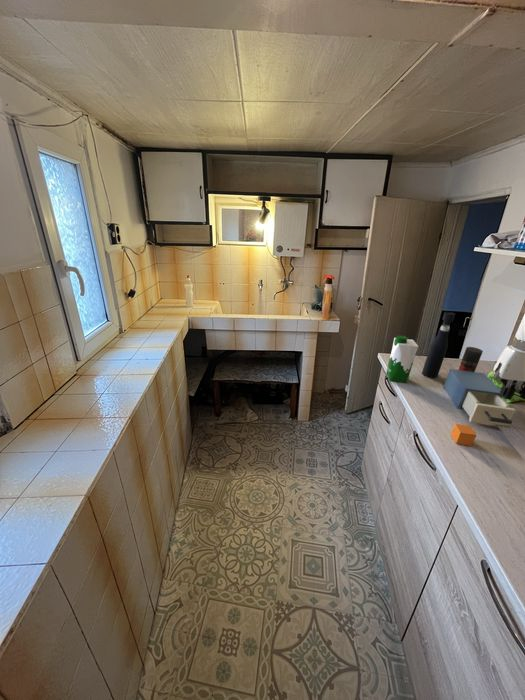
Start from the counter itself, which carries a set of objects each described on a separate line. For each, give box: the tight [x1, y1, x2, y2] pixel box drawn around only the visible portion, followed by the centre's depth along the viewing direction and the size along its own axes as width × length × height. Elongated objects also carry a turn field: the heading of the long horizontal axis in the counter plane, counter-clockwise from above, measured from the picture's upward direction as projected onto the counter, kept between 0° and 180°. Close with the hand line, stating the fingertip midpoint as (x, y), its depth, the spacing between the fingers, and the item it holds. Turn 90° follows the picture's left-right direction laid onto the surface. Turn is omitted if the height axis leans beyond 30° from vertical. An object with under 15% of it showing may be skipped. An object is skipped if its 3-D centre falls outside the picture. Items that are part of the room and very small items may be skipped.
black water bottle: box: [421, 311, 456, 379], centre depth 124 cm, size 6×6×30 cm
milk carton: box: [385, 334, 420, 384], centre depth 122 cm, size 9×9×20 cm
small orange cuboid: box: [450, 423, 478, 447], centre depth 90 cm, size 4×4×4 cm
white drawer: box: [461, 390, 517, 427], centre depth 100 cm, size 19×11×7 cm, turn 167°
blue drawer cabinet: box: [443, 368, 503, 410], centre depth 111 cm, size 16×13×9 cm
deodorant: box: [457, 346, 484, 372], centre depth 125 cm, size 6×6×15 cm
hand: (505, 397), depth 91 cm, fingers closed
